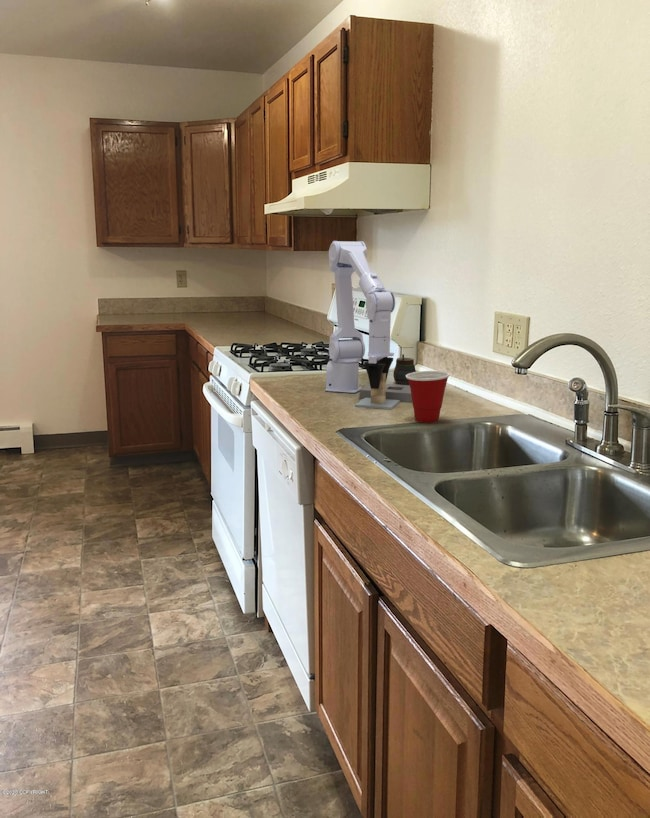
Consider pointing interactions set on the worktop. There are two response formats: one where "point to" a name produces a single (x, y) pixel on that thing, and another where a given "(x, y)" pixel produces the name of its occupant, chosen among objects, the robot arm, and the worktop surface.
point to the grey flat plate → (390, 392)
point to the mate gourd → (403, 369)
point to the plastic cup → (427, 394)
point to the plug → (379, 391)
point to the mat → (386, 405)
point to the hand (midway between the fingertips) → (378, 385)
